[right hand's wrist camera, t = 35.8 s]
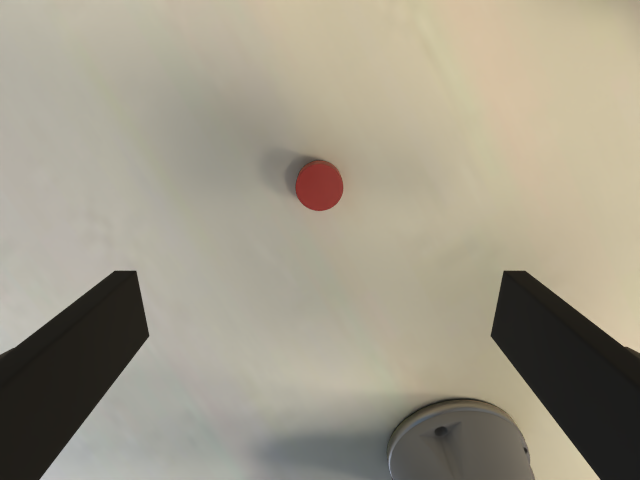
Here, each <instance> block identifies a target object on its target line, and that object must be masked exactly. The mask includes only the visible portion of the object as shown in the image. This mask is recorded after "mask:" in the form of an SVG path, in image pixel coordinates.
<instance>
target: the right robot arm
mask: <svg viewBox="0 0 640 480" xmlns="http://www.w3.org/2000/svg"><path fill="white" fill-rule="evenodd" d="M148 337H149V332H148V327H147V322H146V317H145V312H144V307H143V302H142V297H141V292H140V287H139V282H138V277H137V272H136V271H114V272H113V273H111V274H110V275H109V276H107V277H106V278H105V279H104V280H102V281H101V282H100V283H98V284H97V285H96V286H94V287H93V288H92V289H91V290H89V291H88V292H87V293H85V294H84V295H83V296H81V297H80V298H79V299H78V300H76V301H75V302H74V303H72V304H71V305H70V306H68V307H67V308H66V309H65V310H63V311H62V312H61V313H59V314H58V315H57V316H55V317H54V318H53V319H52V320H50V321H49V322H48V323H46V324H45V325H44V326H42V327H41V328H40V329H39V330H37V331H36V332H35V333H33V334H32V335H31V336H30V337H28V338H27V339H26V340H24V341H23V342H22V343H20V344H19V345H18V346H17V347H15V348H13V349H11V350H9V351H7V352H5V353H3V354H1V355H0V480H40V478H41V477H42V476H43V474H44V473H45V472H46V470H47V469H48V468H49V466H50V465H51V464H52V463H53V461H54V460H55V459H56V457H57V456H58V455H59V453H60V452H61V451H62V449H63V448H64V447H65V446H66V444H67V443H68V442H69V440H70V439H71V438H72V436H73V435H74V434H75V432H76V431H77V430H78V429H79V427H80V426H81V425H82V423H83V422H84V421H85V419H86V418H87V417H88V415H89V414H90V413H91V412H92V410H93V409H94V408H95V406H96V405H97V404H98V402H99V401H100V400H101V398H102V397H103V396H104V395H105V393H106V392H107V391H108V389H109V388H110V387H111V385H112V384H113V383H114V381H115V380H116V379H117V378H118V376H119V375H120V374H121V372H122V371H123V370H124V368H125V367H126V366H127V364H128V363H129V362H130V361H131V359H132V358H133V357H134V355H135V354H136V353H137V351H138V350H139V349H140V347H141V346H142V345H143V344H144V342H145V341H146V340H147V338H148ZM491 337H492V338H493V340H494V341H495V342H496V344H497V345H498V346H499V347H500V349H501V350H502V351H503V353H504V354H505V355H506V357H507V358H508V359H509V361H510V362H511V363H512V364H513V366H514V367H515V368H516V370H517V371H518V372H519V374H520V375H521V376H522V378H523V379H524V380H525V381H526V383H527V384H528V385H529V387H530V388H531V389H532V391H533V392H534V393H535V395H536V396H537V397H538V398H539V400H540V401H541V402H542V404H543V405H544V406H545V408H546V409H547V410H548V412H549V413H550V414H551V415H552V417H553V418H554V419H555V421H556V422H557V423H558V425H559V426H560V427H561V429H562V430H563V431H564V432H565V434H566V435H567V436H568V438H569V439H570V440H571V442H572V443H573V444H574V446H575V447H576V448H577V449H578V451H579V452H580V453H581V455H582V456H583V457H584V459H585V460H586V461H587V463H588V464H589V465H590V466H591V468H592V469H593V470H594V472H595V473H596V474H597V476H598V477H599V478H600V480H640V353H638V352H636V351H634V350H632V349H630V348H628V347H623V346H622V345H621V344H620V343H618V342H617V341H616V340H614V339H613V338H612V337H610V336H609V335H608V334H607V333H605V332H604V331H603V330H601V329H600V328H599V327H598V326H596V325H595V324H594V323H592V322H591V321H590V320H588V319H587V318H586V317H585V316H583V315H582V314H581V313H579V312H578V311H577V310H575V309H574V308H573V307H572V306H570V305H569V304H568V303H566V302H565V301H564V300H562V299H561V298H560V297H559V296H557V295H556V294H555V293H553V292H552V291H551V290H549V289H548V288H547V287H546V286H544V285H543V284H542V283H540V282H539V281H538V280H536V279H535V278H534V277H533V276H531V275H530V274H529V273H527V272H526V271H504V272H503V277H502V282H501V287H500V292H499V297H498V302H497V307H496V312H495V317H494V322H493V327H492V332H491ZM387 459H388V464H389V469H390V474H391V477H392V479H393V480H535V478H534V474H533V471H532V469H531V466H530V455H529V451H528V447H527V444H526V442H525V439H524V437H523V435H522V433H521V432H520V430H519V428H518V427H517V425H516V424H515V422H514V421H513V419H512V418H511V417H510V416H509V415H508V414H507V413H506V412H504V411H503V410H501V409H499V408H498V407H496V406H493V405H491V404H488V403H485V402H480V401H474V400H451V401H445V402H440V403H436V404H433V405H430V406H428V407H425V408H423V409H421V410H419V411H417V412H415V413H414V414H412V415H411V416H409V417H408V418H406V419H405V420H404V421H403V422H402V423H401V424H400V425H399V426H398V427H397V428H396V430H395V431H394V433H393V434H392V436H391V438H390V440H389V443H388V447H387Z"/></svg>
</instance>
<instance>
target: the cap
mask: <svg viewBox="0 0 640 480" xmlns="http://www.w3.org/2000/svg"><path fill="white" fill-rule="evenodd" d="M342 193H343V182H342V178H341V175H340V173H339V171H338V170H337V168H336V167H335V166H334V165H332V164H331V163H329V162H326V161H313V162H310V163H308V164H307V165H305V166H304V167H303V168H302V169H301V171H300V172H299V175H298V178H297V181H296V194H297V197H298V199H299V200H300V202H301V203H302V204H303V205H304V206H306V207H307V208H309V209H312V210H316V211H323V210H327V209H330V208H332V207H333V206H334V205H336V204H337V203H338V201H339V200H340V198H341V196H342Z"/></svg>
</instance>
